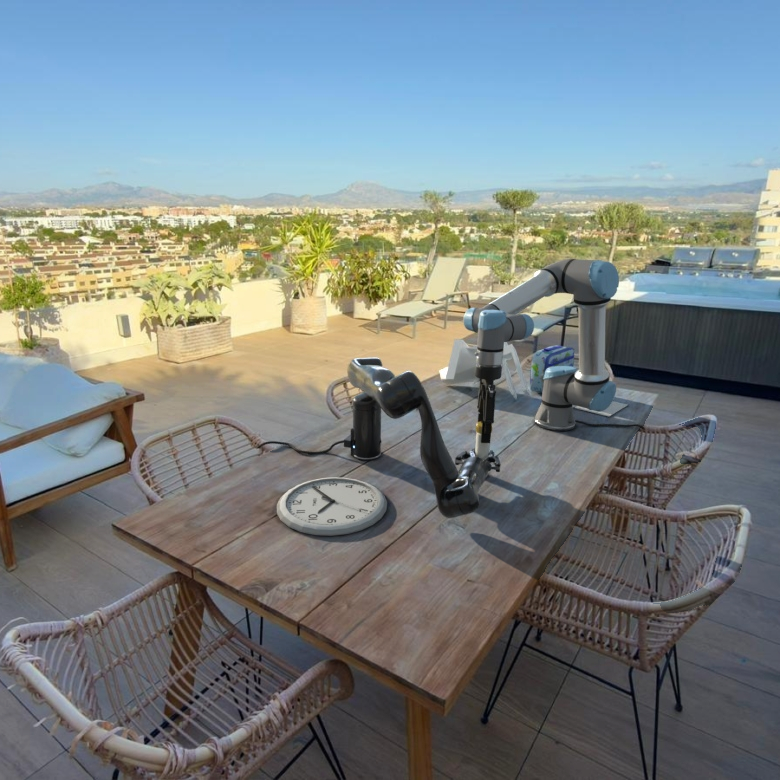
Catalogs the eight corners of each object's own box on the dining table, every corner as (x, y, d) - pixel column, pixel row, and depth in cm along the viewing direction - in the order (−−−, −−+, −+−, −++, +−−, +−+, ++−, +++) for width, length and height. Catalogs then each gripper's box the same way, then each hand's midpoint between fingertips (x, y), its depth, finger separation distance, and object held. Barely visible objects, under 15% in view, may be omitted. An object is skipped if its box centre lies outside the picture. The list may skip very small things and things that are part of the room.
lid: (493, 429, 159) (493, 422, 158) (490, 435, 155) (491, 428, 154) (477, 427, 161) (477, 420, 160) (474, 433, 156) (474, 425, 155)
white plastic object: (461, 429, 252) (437, 405, 227) (444, 352, 274) (420, 323, 250) (535, 404, 240) (518, 377, 215) (510, 326, 262) (492, 293, 237)
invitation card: (608, 416, 214) (573, 407, 224) (608, 416, 214) (573, 408, 224) (628, 404, 229) (594, 396, 238) (628, 405, 229) (594, 397, 238)
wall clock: (392, 527, 129) (268, 531, 127) (391, 533, 130) (269, 537, 127) (383, 473, 158) (282, 475, 155) (383, 478, 158) (282, 480, 156)
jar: (483, 479, 159) (487, 430, 154) (471, 475, 161) (474, 426, 157) (489, 474, 163) (493, 425, 158) (477, 470, 165) (480, 422, 160)
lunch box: (546, 398, 236) (551, 353, 229) (525, 393, 243) (529, 349, 237) (573, 387, 253) (579, 344, 247) (553, 382, 260) (558, 341, 254)
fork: (413, 411, 216) (413, 406, 216) (424, 399, 231) (424, 395, 230) (419, 411, 216) (419, 407, 215) (429, 400, 230) (429, 396, 229)
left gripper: (498, 466, 144) (507, 444, 159) (448, 458, 148) (461, 436, 164) (496, 491, 146) (505, 466, 161) (446, 482, 151) (460, 458, 166)
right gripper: (471, 356, 161) (466, 426, 167) (481, 372, 142) (476, 450, 149) (495, 356, 161) (489, 426, 168) (509, 373, 142) (502, 451, 149)
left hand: (483, 451), depth 162 cm, fingers closed on jar, 4 cm apart
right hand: (483, 437), depth 158 cm, fingers open, 6 cm apart
